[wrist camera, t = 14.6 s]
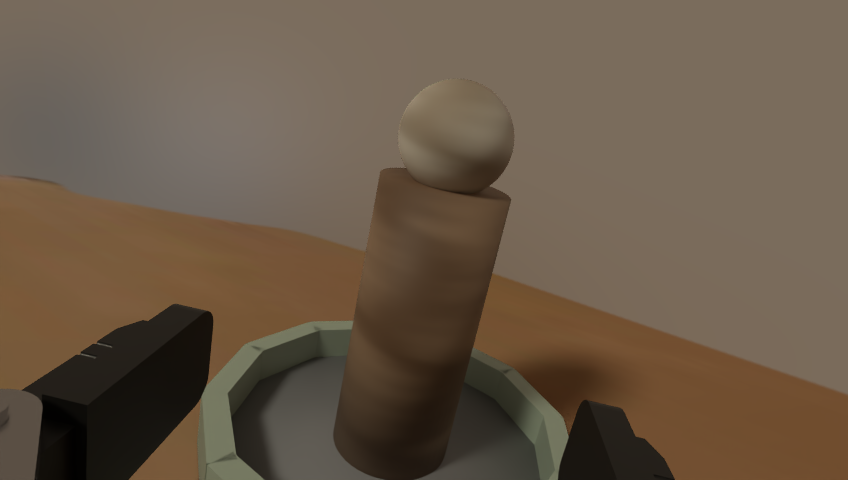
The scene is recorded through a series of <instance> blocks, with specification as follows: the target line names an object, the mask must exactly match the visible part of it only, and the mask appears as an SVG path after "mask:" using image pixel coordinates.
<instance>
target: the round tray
mask: <svg viewBox="0 0 848 480" xmlns="http://www.w3.org/2000/svg"><path fill="white" fill-rule="evenodd" d="M352 326H353V321H320V322H308V323H305V324H302V325H299V326H296V327H293V328H290V329H287V330H284V331H281V332H278V333H275V334H273V335H270V336H267V337H264V338H261V339H258V340H255V341H252V342H249V343H246V344H245V345H244V346H243V347H242V348H241V349H240V350H239V351H238V352H237V353H236V355H235V356H234V357H233V358H232V359H231V360H230V361H229V362H228V363H227V364H226V365H225V366H224V368H223V369H222V370H221V371H220V372H219V373H218V374H217V375H216V376H215V377H214V378H213V379H212V381H211V382H210V383H209V384H208V385H207V386H206V387H205V390H204V392H203V394H202V396H201V405H200V417H199V428H198V440H197V445H198V466H199V480H384V479H379V478H376V477H372V476H370V475H367V474H365V473H363V472H361V471H359V470H357V469H356V468H354V467H353V466H351V465H350V464H349V463H348V462H347V461H345V459H344V458H343V457H342V456H341V455H340V453H339V452H338V450H337V448H336V446H335V443H334V439H333V431H334V425H335V419H336V414H337V408H338V403H339V397H340V392H341V386H342V381H343V375H344V370H345V364H346V359H347V353H348V348H349V342H350V337H351V331H352ZM568 438H569V437H568V433H567V430H566V426H565V422H564V419H563V418H562V416H561V415H560V414H559V413H558V412H557V411H556V410H555V409H554V408H553V407H552V406H551V405H550V404H549V403H548V402H547V401H546V400H545V399H544V398H543V397H542V396H541V395H540V394H539V393H538V392H537V391H536V390H535V389H534V388H533V387H532V386H531V385H530V384H529V383H528V382H527V381H526V380H525V379H524V378H523V377H522V376H521V375H520V374H519V373H518V372H517V371H516V370H515V369H513V368H512V367H510V366H508V365H507V364H505V363H503V362H501V361H499V360H497V359H495V358H493V357H491V356H489V355H487V354H485V353H483V352H481V351H479V350H477V349H475V348H473V349H472V353H471V357H470V360H469V364H468V368H467V372H466V376H465V380H464V384H463V387H462V391H461V395H460V399H459V403H458V407H457V411H456V414H455V418H454V422H453V426H452V430H451V434H450V437H449V441H448V445H447V449H446V453H445V457H444V459H443V461H442V463H441V464H440V466H439V467H438V468H437V469H436V470H435V471H433V472H432V473H430V474H429V475H427V476H425V477H422V478H419V479H415V480H558V473H559V466H560V462H561V459H562V456H563V453H564V450H565V447H566V444H567V441H568Z"/></svg>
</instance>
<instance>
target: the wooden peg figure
mask: <svg viewBox="0 0 848 480" xmlns="http://www.w3.org/2000/svg"><path fill="white" fill-rule="evenodd" d="M398 143H399V151H400V154H401V158H402V160H403V163H404V165H405V167H406V168H387V169H383V170H382V171H381V172H380V177H379V182H378V188H377V193H376V199H375V204H374V210H373V216H372V221H371V226H370V232H369V237H368V243H367V248H366V254H365V259H364V265H363V270H362V276H361V281H360V287H359V292H358V298H357V303H356V309H355V315H354V320H353V326H352V331H351V337H350V342H349V348H348V353H347V359H346V364H345V370H344V375H343V381H342V386H341V392H340V397H339V403H338V408H337V414H336V419H335V425H334V431H333V439H334V443H335V446H336V448H337V450H338V452H339V453H340V455H341V456H342V457H343V458H344V459H345V461H347V462H348V463H349V464H350V465H351V466H353V467H354V468H356V469H357V470H359V471H361V472H363V473H365V474H367V475H370V476H372V477H376V478H379V479H384V480H415V479H419V478H422V477H425V476H427V475H429V474H430V473H432V472H433V471H435V470H436V469H437V468H438V467H439V466H440V464H441V463H442V461H443V459H444V457H445V453H446V449H447V445H448V441H449V437H450V434H451V430H452V426H453V422H454V418H455V414H456V411H457V407H458V403H459V399H460V395H461V391H462V387H463V384H464V380H465V376H466V372H467V368H468V364H469V360H470V357H471V353H472V349H473V345H474V341H475V337H476V333H477V330H478V326H479V322H480V318H481V314H482V310H483V306H484V303H485V299H486V295H487V291H488V287H489V283H490V279H491V276H492V272H493V268H494V264H495V260H496V256H497V252H498V249H499V244H500V241H501V237H502V233H503V229H504V225H505V221H506V218H507V214H508V210H509V206H510V202H511V199H510V197H509V196H508V195H506V194H505V193H503V192H501V191H499V190H497V189H495V188H492V187H490V185H491V184H492V183H493V182H495V181H496V180H497V179H498V178H499V176H500V175H501V174H502V173H503V171H504V170H505V168H506V167H507V165H508V163H509V161H510V158H511V155H512V152H513V146H514V128H513V124H512V119H511V117H510V114H509V112H508V110H507V108H506V106H505V105H504V104H503V102H502V100H501V99H500V98H499V97H498V96H497V95H496V94H495V93H494V92H493V91H491V90H490V89H489V88H487V87H485V86H484V85H482V84H479V83H477V82H474V81H471V80H465V79H448V80H443V81H440V82H437V83H434V84H432V85H430V86H428V87H427V88H425V89H424V90H422V91H421V92H420V93H418V94H417V95H416V96H415V98H413V100H412V101H411V102H410V104H409V105H408V107H407V108H406V110H405V112H404V114H403V116H402V119H401V122H400V126H399V134H398Z"/></svg>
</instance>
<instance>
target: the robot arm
mask: <svg viewBox="0 0 848 480" xmlns="http://www.w3.org/2000/svg"><path fill="white" fill-rule="evenodd" d="M212 331H213V316H212V314H211V312H209V311H205V310H201V309H196V308H192V307H188V306H183V305H179V304H173V305H171V306H170V307H168V308H167V309H165V310H164V311H162V312H161V313H159V314H158V315H156V316H155V317H154V318H152V319H151V320H149V321H144V320H142V321H139V322H136V323H133V324H130V325H127V326H123V327H120V328H117V329H116V330H114V331H112V332H111V333H109V334H108V335H106V336H105V337H103V338H102V339H100V340H99V341H97V344H92V345H91V346H89V347H88V348H86V349H85V350H83V351H82V352H81V354H80V355H75V356H74V357H72V358H71V359H69V360H68V361H66V362H65V363H63V364H61V365H60V366H58V367H57V368H55V369H54V370H52V371H51V372H49V373H48V374H46V375H44V376H43V377H41V378H40V379H38V380H37V381H35V382H34V383H32V384H30V385H29V386H27V387H26V388H24V389H23V390H14V389H0V480H129V478H130V477H131V476H132V475H133V474H134V473H135V472H136V471H137V470H138V469H139V467H140V466H141V465H142V464H143V463H144V462H145V461H146V460H147V459H148V458H149V456H150V455H151V454H152V453H153V452H154V451H155V450H156V449H157V448H158V446H159V445H160V444H161V443H162V442H163V441H164V440H165V439H166V438H167V437H168V435H169V434H170V433H171V432H172V431H173V430H174V429H175V428H176V427H177V426H178V424H179V423H180V422H181V421H182V420H183V419H184V418H185V417H186V416H187V415H188V413H189V412H190V411H191V410H192V409H193V408H194V407H195V406H196V404H197V403H198V402H199V400H200V398H201V396H202V394H203V392H204V390H205V387H206V384H207V380H208V374H209V364H210V353H211V342H212ZM558 480H675V479H674V477H673V475H672V473H671V471H670V469H669V467H668V465H667V463H666V461H665V459H664V458H663V457H662V456H661V455H660V454H659V453H658V452H657V451H656V450H655V449H654V448H653V447H652V446H651V445H650V444H649V443H648V442H647V441H646V440H645V439H643V438H639V437H636V436H635V434H634V432H633V430H632V428H631V426H630V424H629V422H628V419H627V417H626V415H625V413H624V411H623V410H622V409H621V408H618V407H614V406H610V405H605V404H601V403H597V402H592V401H588V400H584V401H583V402H582V403H581V404H580V406H579V408H578V411H577V414H576V417H575V420H574V423H573V426H572V429H571V432H570V435H569V438H568V441H567V444H566V447H565V450H564V453H563V456H562V459H561V462H560V466H559V473H558Z"/></svg>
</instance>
